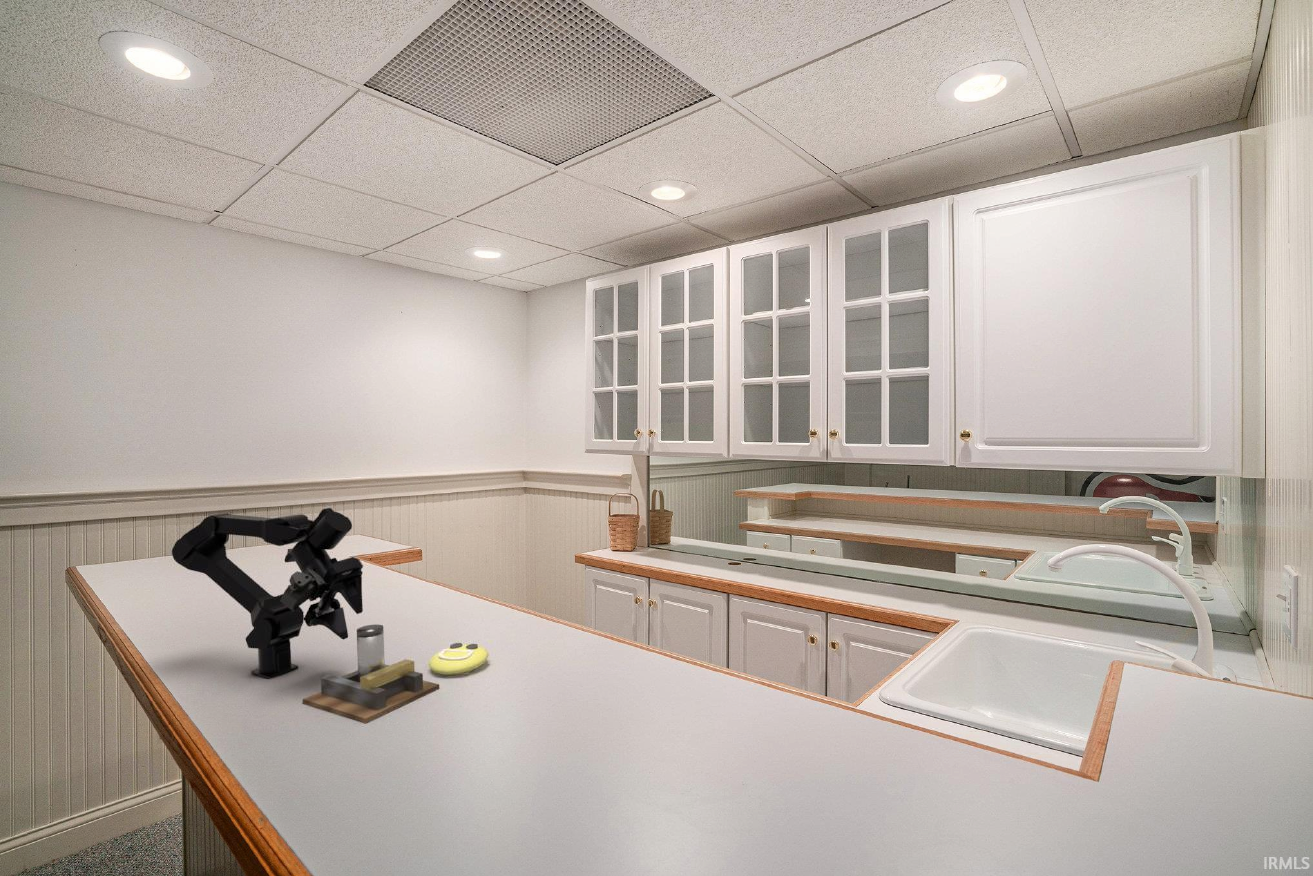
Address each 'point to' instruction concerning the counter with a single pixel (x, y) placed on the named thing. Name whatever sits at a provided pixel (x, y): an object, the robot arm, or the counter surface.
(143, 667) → the counter surface
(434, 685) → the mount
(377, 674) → the bar
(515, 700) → the counter surface
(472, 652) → the emoji
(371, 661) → the metal canister
